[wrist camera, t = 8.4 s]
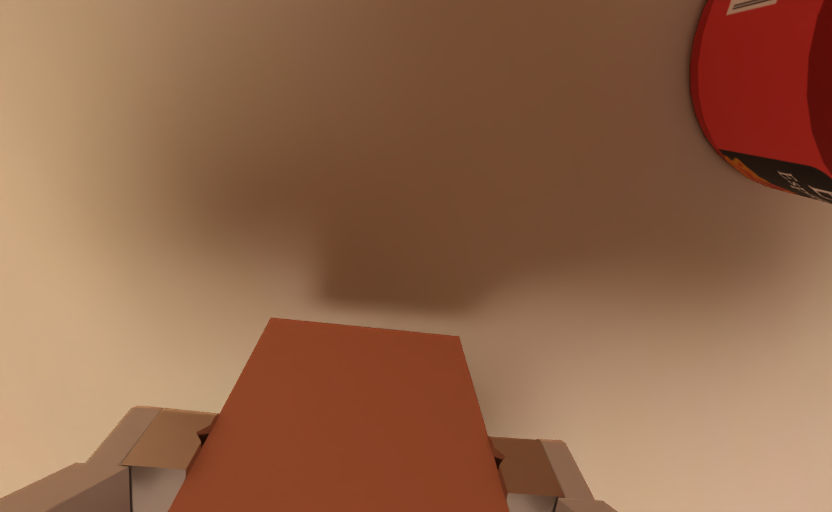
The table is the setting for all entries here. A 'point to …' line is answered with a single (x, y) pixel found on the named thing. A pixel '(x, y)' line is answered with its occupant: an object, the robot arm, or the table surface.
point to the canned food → (768, 90)
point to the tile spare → (347, 428)
